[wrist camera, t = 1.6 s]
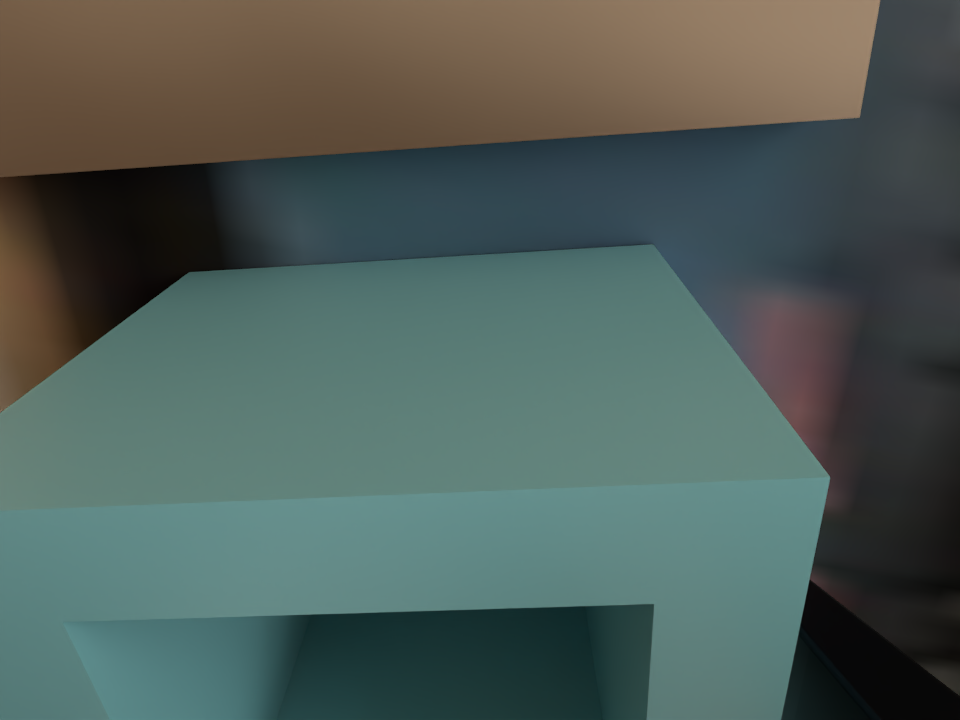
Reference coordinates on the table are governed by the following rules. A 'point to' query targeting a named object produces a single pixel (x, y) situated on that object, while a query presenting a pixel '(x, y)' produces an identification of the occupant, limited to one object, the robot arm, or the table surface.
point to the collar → (406, 503)
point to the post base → (405, 74)
